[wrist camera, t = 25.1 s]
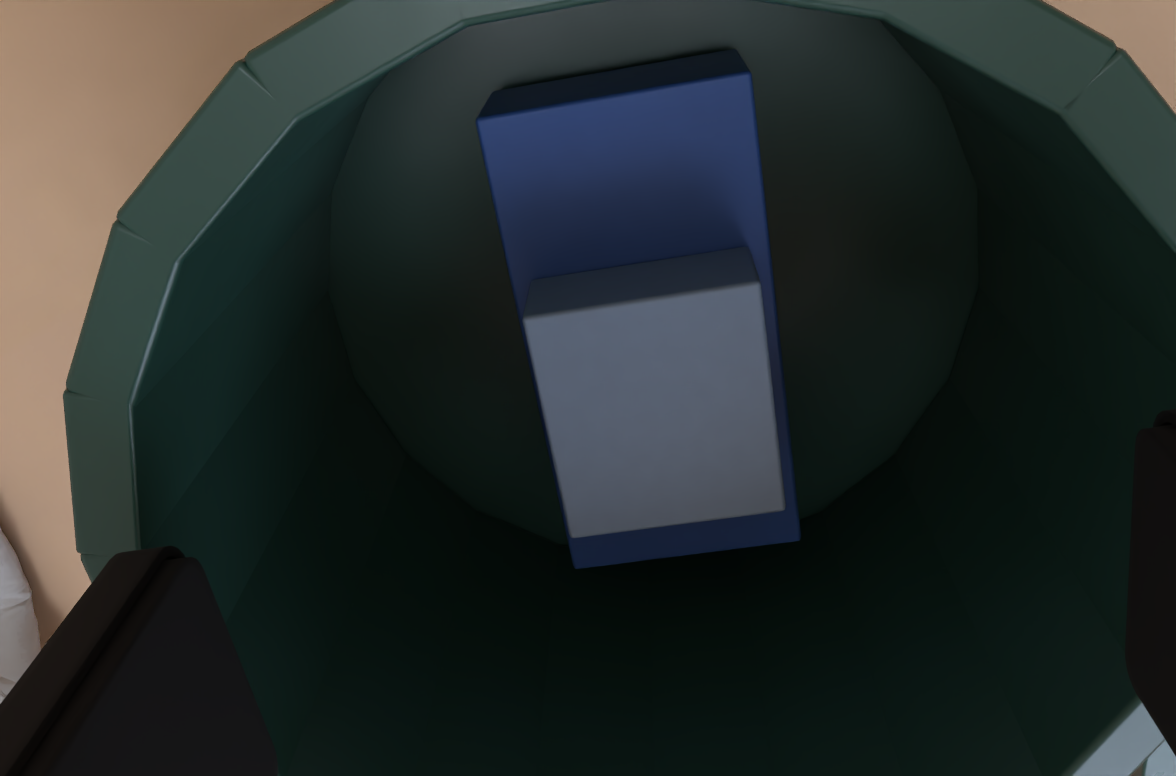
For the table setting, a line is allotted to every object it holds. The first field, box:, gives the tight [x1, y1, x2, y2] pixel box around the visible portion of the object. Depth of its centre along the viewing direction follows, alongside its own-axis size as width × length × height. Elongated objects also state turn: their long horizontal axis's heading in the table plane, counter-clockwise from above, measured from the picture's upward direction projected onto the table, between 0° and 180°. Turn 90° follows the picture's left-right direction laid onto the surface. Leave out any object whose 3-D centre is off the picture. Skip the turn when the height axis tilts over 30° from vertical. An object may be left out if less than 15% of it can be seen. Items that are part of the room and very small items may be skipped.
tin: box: [63, 0, 1176, 776], centre depth 15 cm, size 12×12×8 cm
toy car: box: [475, 49, 801, 569], centre depth 16 cm, size 8×4×4 cm, turn 10°
